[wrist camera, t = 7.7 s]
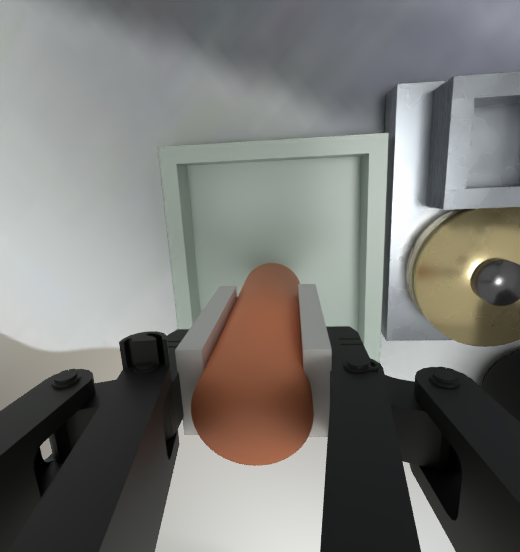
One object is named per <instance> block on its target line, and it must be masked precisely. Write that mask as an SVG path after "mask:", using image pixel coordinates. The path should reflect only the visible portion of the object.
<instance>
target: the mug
mask: <svg viewBox="0 0 520 552" xmlns="http://www.w3.org/2000/svg"><path fill="white" fill-rule="evenodd" d="M481 388H482V389H483V390H484V391H485V392H486V393H487V394H489V395H490V396H491V397H492V398H493V399H494V400H495V401H496V402H498V403H499V404H500V405H501V406H502V407H503V408H504V409H505V410H507V411H508V412H509V413H510V414H511V415H512V416H513V417H515V418H516V419H517V420H518V421H519V422H520V351H516V352H513V353H511V354H509V355H507V356H505V357H503V358H502V359H500V360H499V361H497V362H496V363H495V364H494V365H493V366H492V367H491V368H490V369H489V371H488V372H487V374H486V375H485V377H484V379H483V382H482V386H481Z"/></svg>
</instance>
